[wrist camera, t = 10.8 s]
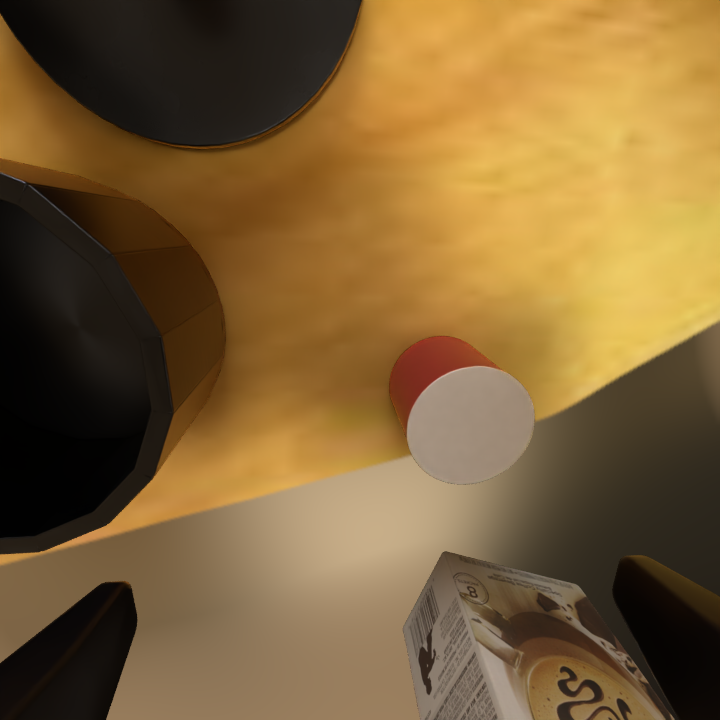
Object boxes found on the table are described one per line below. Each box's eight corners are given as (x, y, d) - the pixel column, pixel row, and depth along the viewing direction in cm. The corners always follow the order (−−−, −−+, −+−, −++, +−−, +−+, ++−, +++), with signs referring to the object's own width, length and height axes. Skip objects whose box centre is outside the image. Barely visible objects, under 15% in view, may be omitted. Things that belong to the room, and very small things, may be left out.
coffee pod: (389, 335, 18) (409, 368, 13) (491, 333, 18) (543, 365, 14) (386, 430, 19) (404, 487, 15) (481, 426, 19) (525, 481, 15)
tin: (-111, 174, 14) (-445, 130, 8) (210, 179, 15) (131, 142, 9) (-20, 450, 18) (-206, 567, 11) (237, 440, 19) (193, 544, 12)
